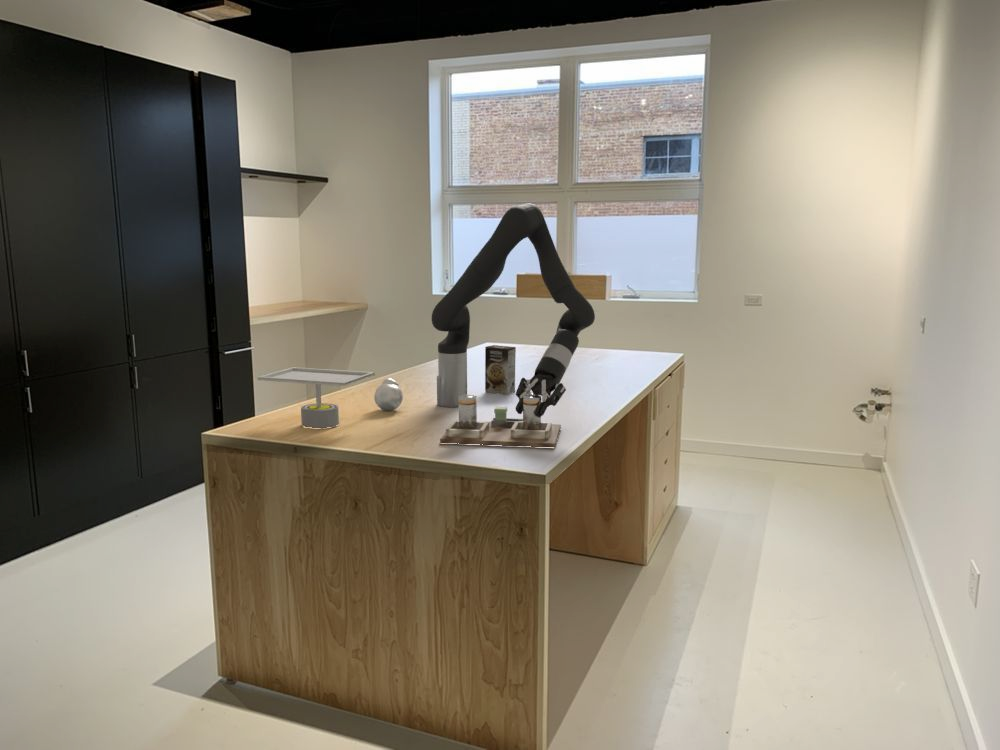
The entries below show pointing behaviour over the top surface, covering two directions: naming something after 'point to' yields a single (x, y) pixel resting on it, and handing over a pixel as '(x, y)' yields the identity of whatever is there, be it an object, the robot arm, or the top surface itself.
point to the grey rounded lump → (388, 395)
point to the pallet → (503, 434)
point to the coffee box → (500, 369)
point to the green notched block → (500, 413)
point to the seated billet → (468, 412)
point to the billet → (531, 412)
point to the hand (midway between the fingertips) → (527, 413)
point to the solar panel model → (318, 391)
